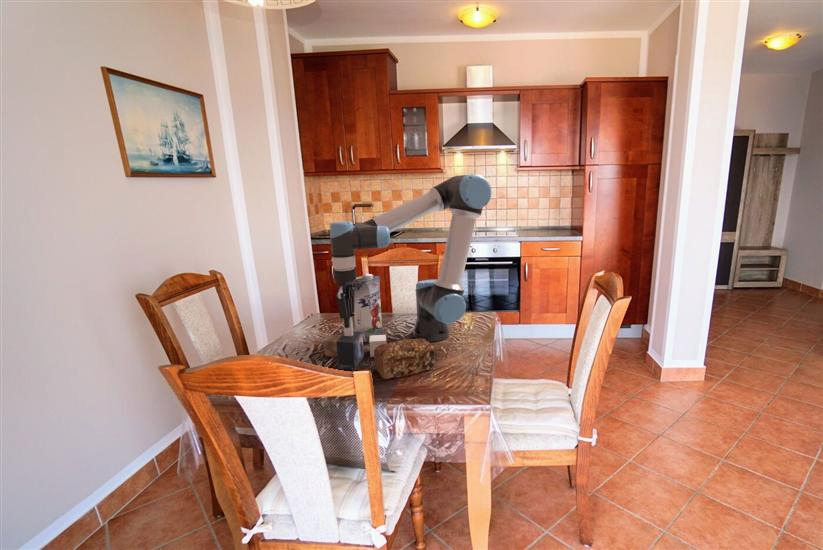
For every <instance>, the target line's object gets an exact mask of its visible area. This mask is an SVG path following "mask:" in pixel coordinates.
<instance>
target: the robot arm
mask: <svg viewBox="0 0 823 550" xmlns="http://www.w3.org/2000/svg"><path fill="white" fill-rule="evenodd" d="M491 199H492V186H491V184H490V183H489V180H487V178H486V177H484V176H482V175H481V174H476V173H475V174H473V173H468V174H461V175H454V176H452V177H450V178H448V179H445V180H444V181H442V182H440V183H438V184H436V185H435V186H433V187H430V189H429V191H428V192H425V193H424V194H422V195H420V196H418V197H415V198H413V199H411V200H409V201H407V202H405V203H402V204H400V205H398V206H396V207H394V208H392V209H389V210H387V211H385V212H383V213H381V214H379V215H377V216H375V217H373V218H370V219H368V220H366V221H364V222H358V223H356V224H354V223H353V222H352V221H336V222H335V221H334V222H332V223H331V224H330V228H329V230H330V235H329V238H330V246H331V247H330V248H331V259H330V261H331V263H332V268H333V270H332V273H333V274H332V277H333V281H334V282H336V283H338V285H337V290H338V291H337V292H335V293H334V294H335V299H336V301H337V307H338V311H339V319H343V334H344V336H353V331H354V324H353V317H354V316H355V314H354V303H355V285H352V281H354V280H355V279H356V278H357V270H356V267H357V264H356V255H355V251H358V250H372V249H373V250H374V249H378V250H379V249H383V248H387V247H389V245H390V242H391V235H390V234H391V233H392V232H394V231H396V230H398V229H400V228H403V227H405V226H407V225H409V224H411V223H413V222H415V221H417V220H420V219H421V218H424V217H425V216H428V215H430V214H432V213H434V212H436V211H439V212H442V211H444V210H447V209H448V210H449V212H450V213H451V219H450V220H451V221H450V225H449V229H448V233H447V238H446V242H445V246H444V247H445V248H444V252H443V256H442V261H441V265H440V271H439V275H438V279H426V280H420V281H417V282H416V283H415V284H416V285H415V290H414V291H415V301H416V302H415V303H416V319H415V323H414V325H413V329H412V333H413V337H414V339H420V338H423V339H425V340H426V341H427V342H440V341H444V340H446V339H448V338H449V337H450V336H451V329H450V326H449V324H450V325H451V324H454V323H457V322H458V321H460V320H461V319H462V318H463V316H464V315H465V312H466V309H467V304H466V301H465V299H464V298H463V297H464V292H465V288H464V286H463V284H462V283H463V279H464V274H465V269H466V265H467V260H468V255H469V252H470V247H471V243H472V237H473V234H474V229H475V225H476V221H477V219H478V218H480V217H481V216H482V211H483V208H485V206H487V205H488V203H490V201H491Z"/></svg>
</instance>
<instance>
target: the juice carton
mask: <svg viewBox="0 0 823 550" xmlns="http://www.w3.org/2000/svg"><path fill="white" fill-rule="evenodd" d="M380 280H381V278H380V276H379V275H374V274H371V273H366V274H364V275H361V276H359V277H356V279H355V280H354V281H352V285H355V303H354V313H353V314H355V316H353V319H354V331H360V332H363V343H364V342H365V343H367V344H369V340H370V336H372V335H383V325H382V324H383V323H382V320H383V319H382V308H381V307H382V305H381V290H380V286H381V285H380Z"/></svg>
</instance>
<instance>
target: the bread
mask: <svg viewBox="0 0 823 550" xmlns="http://www.w3.org/2000/svg"><path fill="white" fill-rule="evenodd" d="M373 360H374V362H375V363H374V364H375V368H376V371H377V372H378V374H379V375H380V377H381V378H382V379H383V380H389V379H391V378H400V377H405V376H410V375H415V374H419V373H422V372H426V371H427V370H428V371H429V370H430V371H432V370H433V369H434V368H435V367H436V365H435V364H436V351H435V347H434V345H432V344H431V341H426V340H425V339H423V338H420V339H416V338H414V339H412V338H404V339H401V340H400V339H398V340H397V341H396V340H395V341H391V342H389V343H386V344H382V345H379V346H378V347H377V348H375V350H374V357H373Z"/></svg>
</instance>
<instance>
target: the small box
mask: <svg viewBox="0 0 823 550" xmlns="http://www.w3.org/2000/svg"><path fill="white" fill-rule="evenodd" d="M340 336H341V337H340V338H339V339H338V340H337V341H336V346H337V357H336V358H337V370H339V369H340V370H342V371H355V370H356V369H357V368H358V367H359V365H360V364H361V363H362V361H363V360H364V359H365V352H364V351H365V350H364V341H363V332H360V331H355V330H353V336H344V333H343V334H342V335H340Z"/></svg>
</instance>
